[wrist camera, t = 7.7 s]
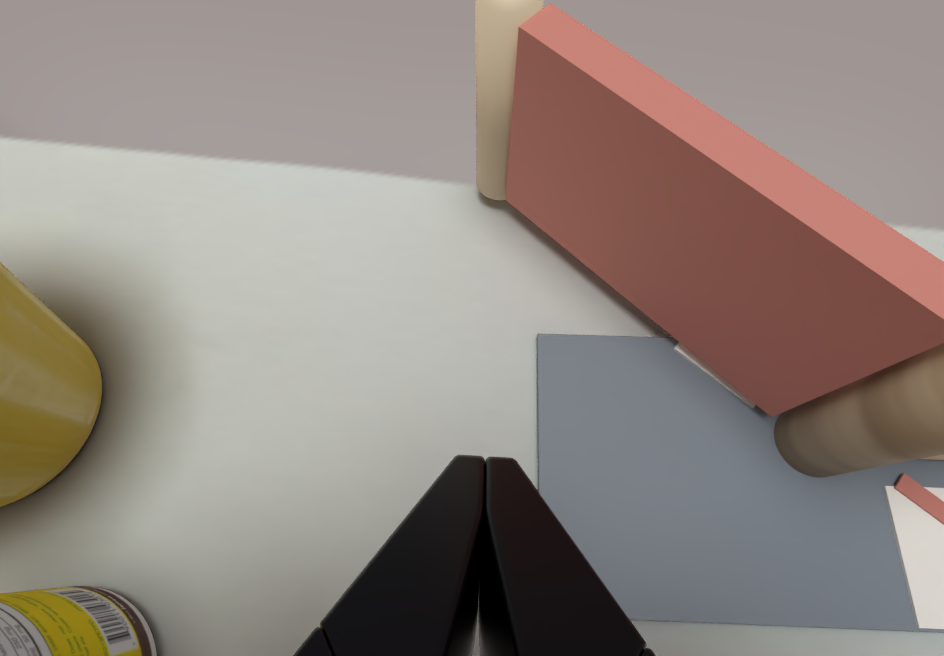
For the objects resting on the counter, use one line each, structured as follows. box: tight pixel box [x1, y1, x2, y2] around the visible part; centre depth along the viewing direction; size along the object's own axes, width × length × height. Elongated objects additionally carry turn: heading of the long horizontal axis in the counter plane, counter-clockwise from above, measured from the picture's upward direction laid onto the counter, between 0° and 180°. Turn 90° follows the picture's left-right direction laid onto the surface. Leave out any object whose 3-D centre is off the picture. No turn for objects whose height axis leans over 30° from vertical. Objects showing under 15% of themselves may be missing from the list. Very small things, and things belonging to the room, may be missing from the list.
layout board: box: [537, 334, 944, 633], centre depth 17 cm, size 21×9×1 cm, turn 88°
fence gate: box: [475, 0, 944, 417], centre depth 16 cm, size 14×2×8 cm, turn 45°
